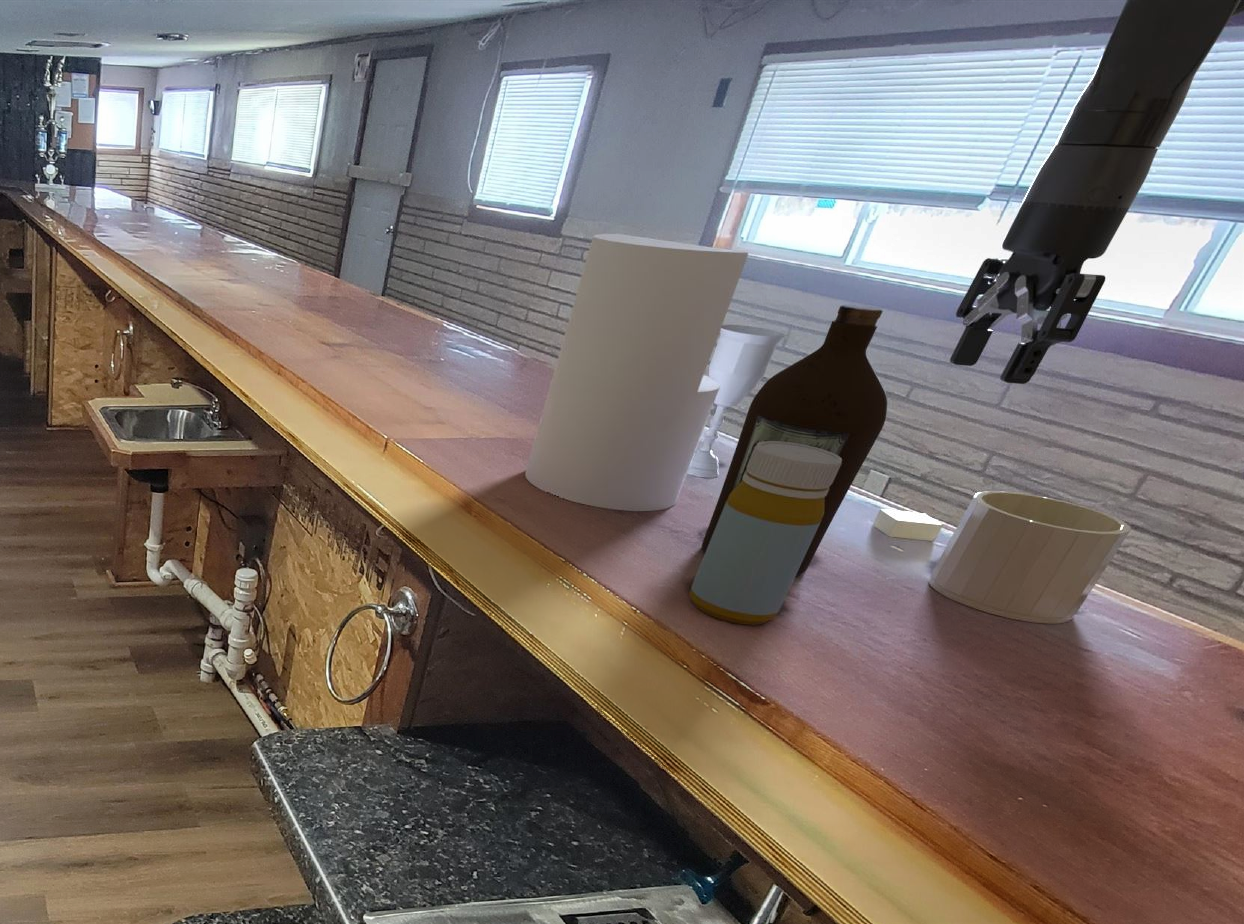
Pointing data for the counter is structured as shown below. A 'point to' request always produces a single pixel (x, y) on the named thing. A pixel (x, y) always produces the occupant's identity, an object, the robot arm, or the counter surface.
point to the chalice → (733, 381)
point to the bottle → (764, 532)
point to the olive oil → (818, 411)
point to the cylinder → (634, 373)
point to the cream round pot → (1027, 556)
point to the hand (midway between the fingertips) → (985, 373)
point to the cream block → (907, 525)
